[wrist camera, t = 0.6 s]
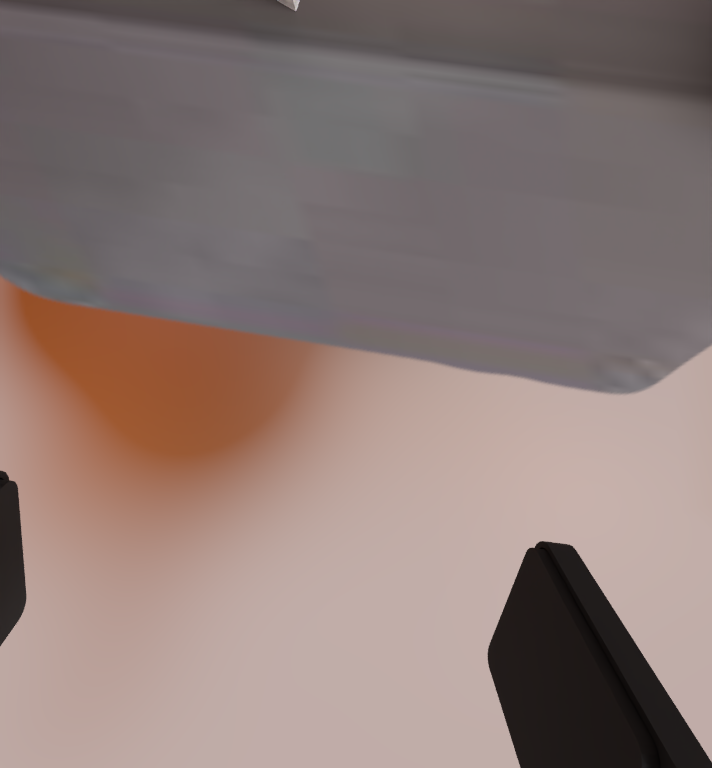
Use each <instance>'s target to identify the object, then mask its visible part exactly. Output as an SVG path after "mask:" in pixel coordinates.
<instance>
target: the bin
mask: <svg viewBox="0 0 712 768" xmlns="http://www.w3.org/2000/svg"><path fill="white" fill-rule="evenodd" d="M276 1H278V2H280V3H282V4H283V5H285V6H287V7H289V8H290V9H292V10H294V11H296V10H297V7H298V4H299V1H300V0H276Z"/></svg>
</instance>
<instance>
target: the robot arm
mask: <svg viewBox="0 0 712 768" xmlns="http://www.w3.org/2000/svg"><path fill="white" fill-rule="evenodd" d="M25 603H26V586H25V573H24V561H23V549H22V536H21V523H20V511H19V498H18V487H17V484H16V483H15V482H14V481H9V477H8V475H7V474H6V472H3V471H0V646H1V644H2V643H3V641H4V640H5V639H6V637H7V636H8V634H9V633H10V632H11V630H12V629H13V627H14V626H15V624H16V623H17V622H18V620H19V618H20V617H21V615H22V613H23V610H24V607H25ZM488 664H489V668H490V672H491V675H492V678H493V681H494V684H495V687H496V691H497V694H498V697H499V700H500V703H501V707H502V710H503V713H504V716H505V719H506V723H507V726H508V729H509V732H510V735H511V739H512V742H513V745H514V748H515V751H516V755H517V758H518V760H519V764H520V767H521V768H712V762H711V761H710V759H709V758H708V756H707V755H706V753H705V751H704V750H703V748H702V747H701V745H700V743H699V742H698V740H697V739H696V737H695V736H694V734H693V733H692V731H691V729H690V728H689V726H688V725H687V723H686V722H685V720H684V718H683V717H682V715H681V714H680V712H679V711H678V709H677V708H676V706H675V704H674V703H673V701H672V700H671V698H670V697H669V695H668V694H667V692H666V690H665V689H664V687H663V686H662V684H661V683H660V681H659V680H658V678H657V676H656V675H655V673H654V672H653V670H652V668H651V667H650V666H649V664H648V662H647V661H646V659H645V658H644V656H643V654H642V653H641V651H640V650H639V648H638V647H637V645H636V644H635V642H634V640H633V639H632V637H631V636H630V634H629V633H628V631H627V629H626V628H625V627H624V625H623V623H622V622H621V620H620V618H619V617H618V615H617V614H616V612H615V611H614V609H613V608H612V606H611V604H610V603H609V601H608V600H607V598H606V597H605V595H604V593H603V592H602V590H601V589H600V587H599V586H598V584H597V583H596V581H595V579H594V578H593V576H592V575H591V573H590V572H589V570H588V569H587V567H586V565H585V564H584V562H583V561H582V559H581V558H580V556H579V554H578V553H577V551H576V550H575V549H574V548H573V546H570V545H567V544H560V543H552V542H544V541H542V542H539V543H538V544H536V546H535V548H529V549H528V550H527V552H526V554H525V557H524V559H523V562H522V564H521V567H520V569H519V572H518V574H517V577H516V579H515V582H514V584H513V587H512V589H511V592H510V595H509V597H508V600H507V602H506V605H505V607H504V610H503V612H502V615H501V617H500V620H499V622H498V625H497V627H496V630H495V632H494V635H493V637H492V640H491V642H490V645H489V649H488Z"/></svg>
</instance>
